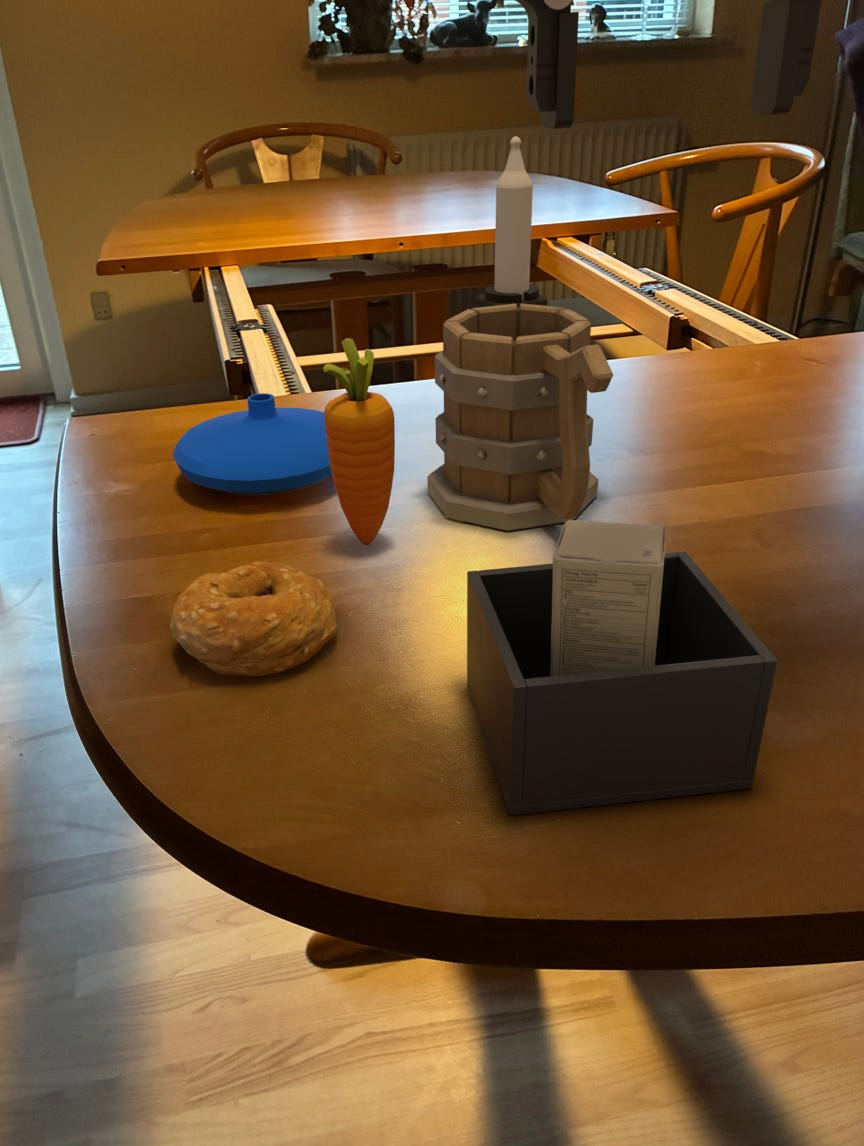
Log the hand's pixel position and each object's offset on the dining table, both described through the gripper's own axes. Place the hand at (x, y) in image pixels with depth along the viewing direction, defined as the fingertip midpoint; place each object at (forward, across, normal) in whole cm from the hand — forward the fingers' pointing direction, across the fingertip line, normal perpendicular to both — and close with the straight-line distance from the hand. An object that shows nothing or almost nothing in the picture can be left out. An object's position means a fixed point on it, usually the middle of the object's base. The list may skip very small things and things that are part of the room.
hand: (664, 120), depth 38 cm
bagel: (+29, -19, +12) cm, 37 cm away
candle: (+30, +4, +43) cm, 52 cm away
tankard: (+30, +2, +27) cm, 40 cm away
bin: (+29, -1, -1) cm, 29 cm away
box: (+29, -1, -1) cm, 29 cm away
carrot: (+29, -11, +24) cm, 40 cm away
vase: (+29, -18, +39) cm, 52 cm away
